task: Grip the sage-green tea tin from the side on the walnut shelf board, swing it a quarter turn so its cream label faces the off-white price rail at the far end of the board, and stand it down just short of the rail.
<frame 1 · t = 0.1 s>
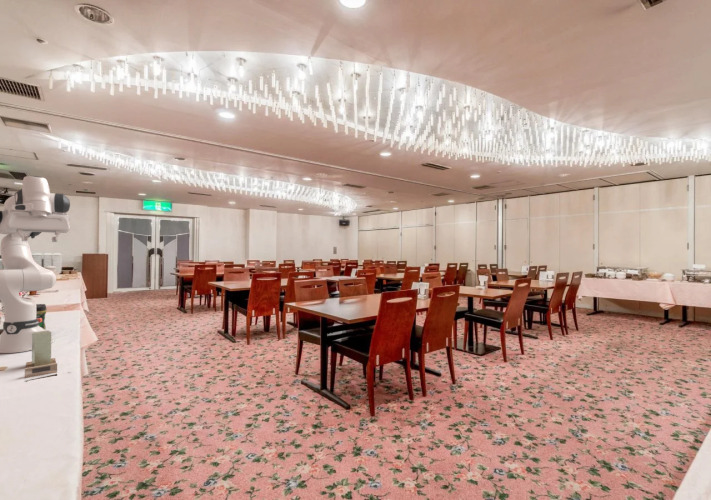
hand: (40, 241, 143), 52 cm above the table, tool tilted 20°, fingers open, 8 cm apart
tea tin: (41, 363, 140), point 1 cm above the table, touching shelf board
shelf board: (41, 370, 136), on the table
coffee jar: (34, 338, 188), on the table
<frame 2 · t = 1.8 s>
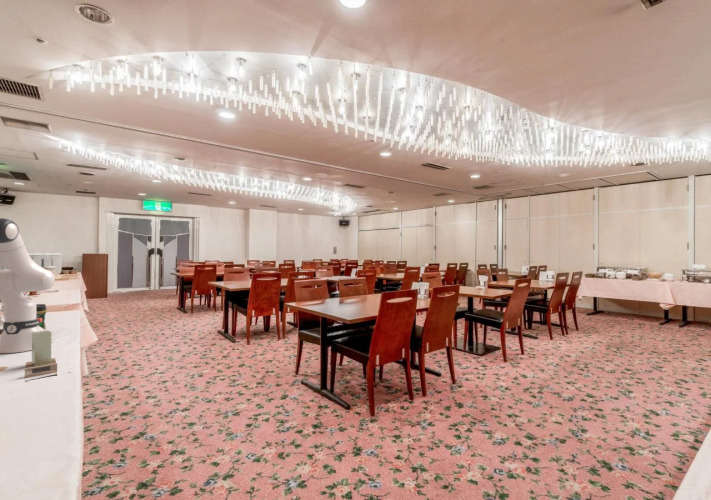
hand: (0, 321, 131), 21 cm above the table, tool horizontal, fingers open, 8 cm apart
nothing on the table moved.
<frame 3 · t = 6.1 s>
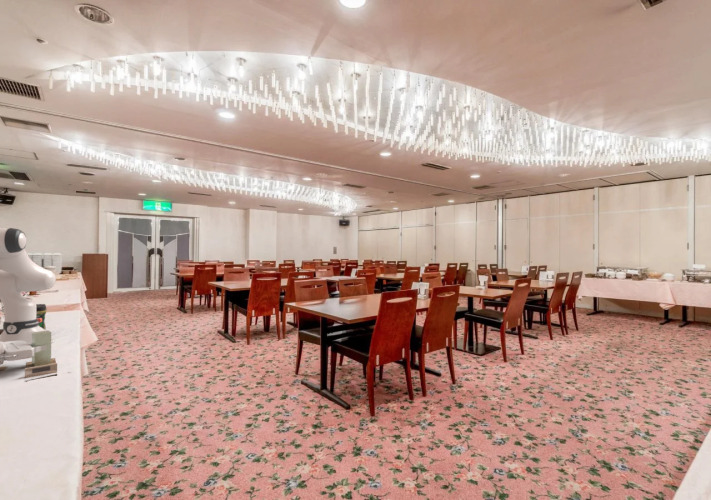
hand: (44, 345, 141), 8 cm above the table, tool horizontal, fingers closed on tea tin, 5 cm apart
tea tin: (41, 363, 140), point 1 cm above the table, touching gripper, shelf board
everything else where it was.
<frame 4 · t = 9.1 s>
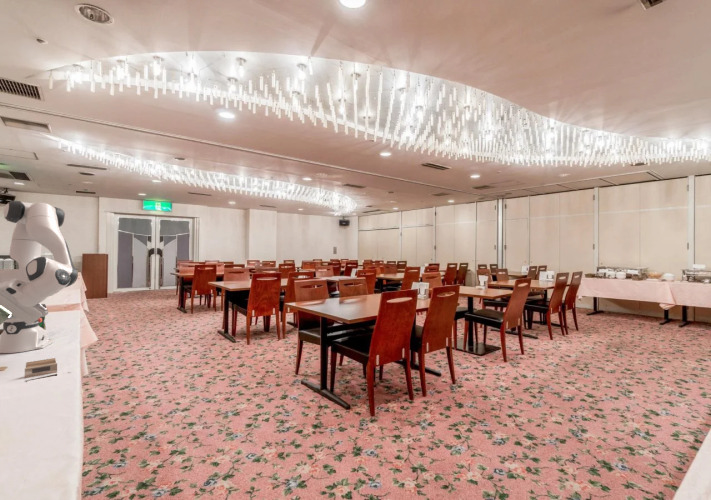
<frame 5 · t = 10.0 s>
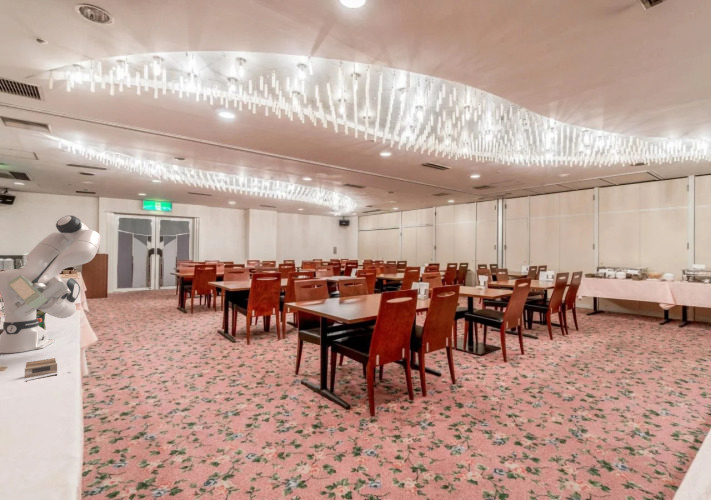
hand: (26, 290, 136), 32 cm above the table, tool pointing upward, fingers closed on tea tin, 5 cm apart
tea tin: (37, 302, 135), point 27 cm above the table, tilted 51°, touching gripper
everything else where it was.
when the fingers open (10 cm above the table, at t = 15.8 s): tea tin drops 1 cm, resting on shelf board.
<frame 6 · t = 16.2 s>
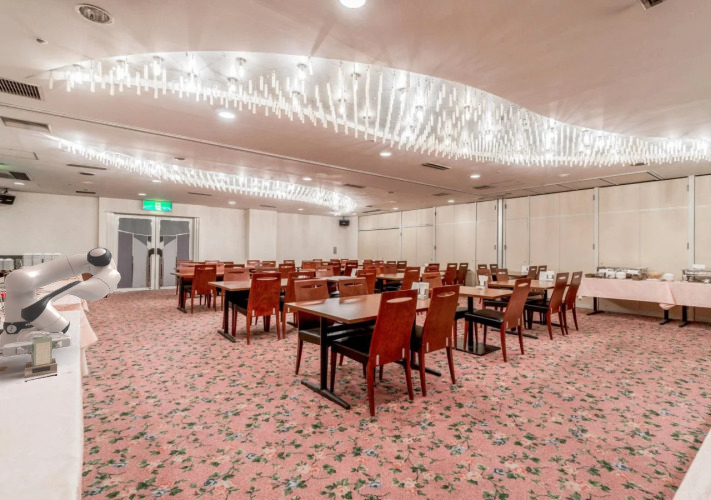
hand: (41, 349, 131), 10 cm above the table, tool horizontal, fingers open, 8 cm apart
tea tin: (41, 371, 132), point 1 cm above the table, touching shelf board
everything else where it was.
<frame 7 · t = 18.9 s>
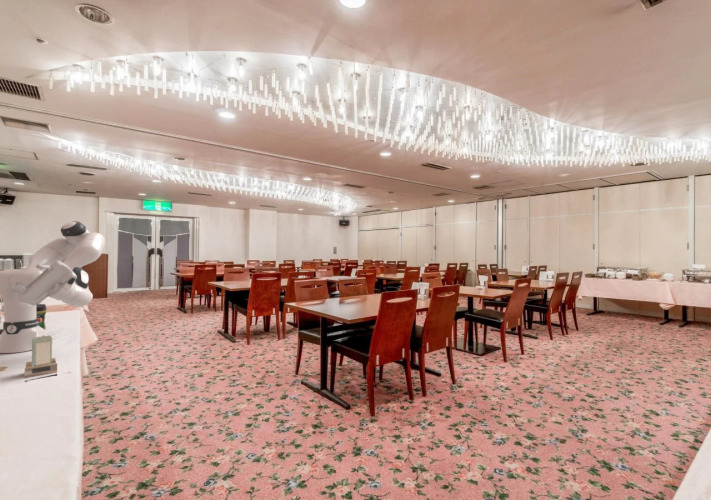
hand: (27, 274, 137), 38 cm above the table, tool pointing upward, fingers open, 8 cm apart
nothing on the table moved.
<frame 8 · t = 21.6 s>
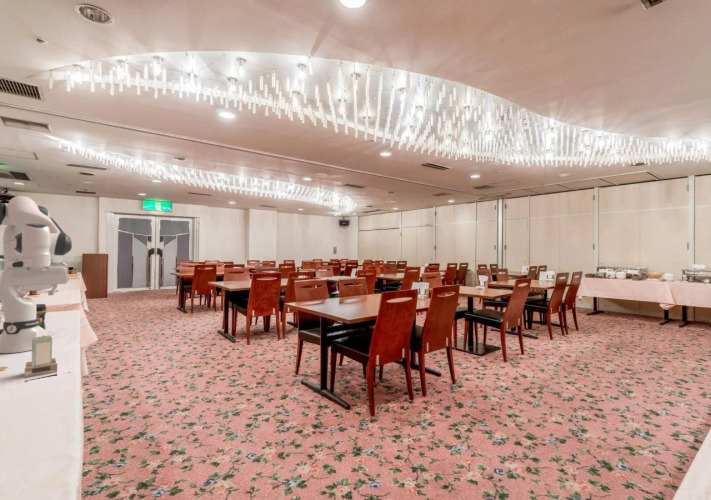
hand: (35, 296, 140), 29 cm above the table, tool pointing down, fingers open, 8 cm apart
nothing on the table moved.
at the end: tea tin 0.6 cm from the target spot on the shelf board, point 1.2 cm above the shelf board's base; tea tin tilted 0°; tea tin moved 12.0 cm from its start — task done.
